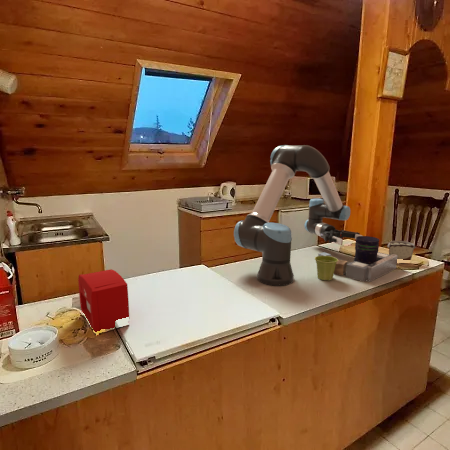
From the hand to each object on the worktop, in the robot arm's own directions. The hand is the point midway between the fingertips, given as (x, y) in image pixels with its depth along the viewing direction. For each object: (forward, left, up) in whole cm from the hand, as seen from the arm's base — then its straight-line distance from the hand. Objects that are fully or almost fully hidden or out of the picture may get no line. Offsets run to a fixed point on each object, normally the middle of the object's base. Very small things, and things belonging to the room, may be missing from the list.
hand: (353, 241), depth 161 cm
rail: (+15, -2, -12) cm, 19 cm away
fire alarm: (-24, -111, -12) cm, 114 cm away
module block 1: (+10, -13, -12) cm, 20 cm away
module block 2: (+10, +8, -12) cm, 17 cm away
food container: (+12, +21, -12) cm, 27 cm away
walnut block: (+1, -14, -12) cm, 18 cm away
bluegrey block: (-8, -12, -12) cm, 18 cm away
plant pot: (+1, -25, -12) cm, 28 cm away
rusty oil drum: (+8, -3, -12) cm, 15 cm away
